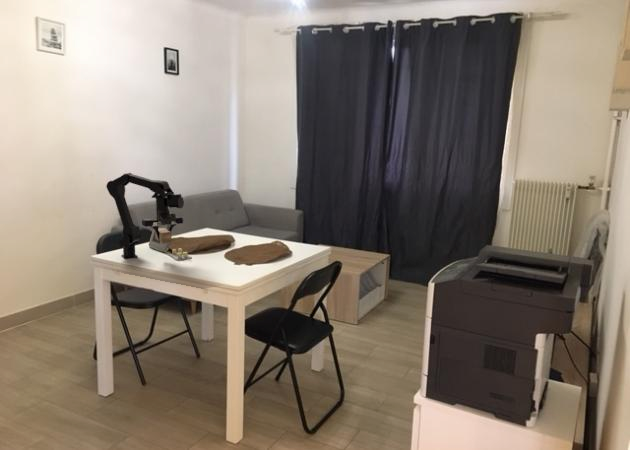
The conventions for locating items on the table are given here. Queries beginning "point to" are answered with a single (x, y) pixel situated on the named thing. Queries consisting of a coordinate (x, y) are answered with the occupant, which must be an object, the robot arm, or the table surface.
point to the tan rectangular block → (164, 236)
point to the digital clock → (158, 243)
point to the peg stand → (179, 255)
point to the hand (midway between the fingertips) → (163, 238)
